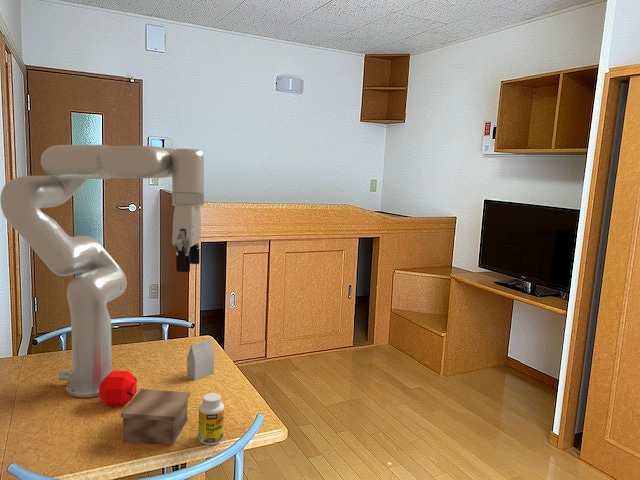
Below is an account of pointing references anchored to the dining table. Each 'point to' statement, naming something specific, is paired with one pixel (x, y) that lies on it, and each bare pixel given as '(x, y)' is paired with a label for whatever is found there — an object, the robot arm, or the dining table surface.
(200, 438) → the supplement bottle
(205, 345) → the white carton
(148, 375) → the dining table surface
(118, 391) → the ball
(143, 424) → the walnut box
